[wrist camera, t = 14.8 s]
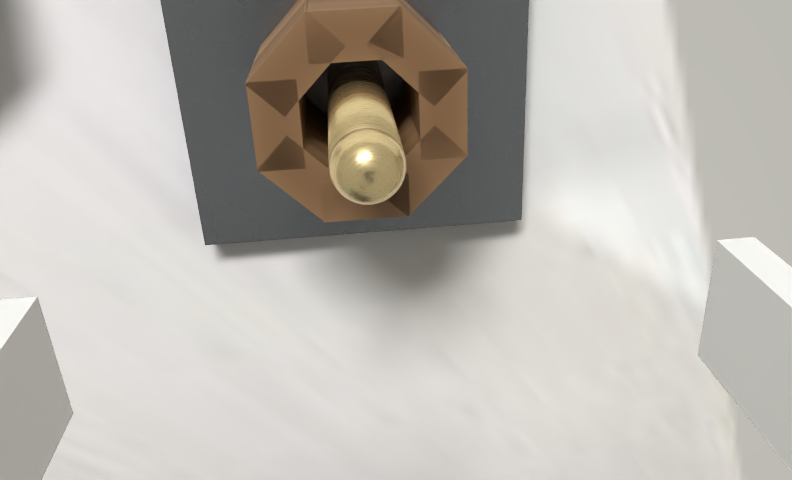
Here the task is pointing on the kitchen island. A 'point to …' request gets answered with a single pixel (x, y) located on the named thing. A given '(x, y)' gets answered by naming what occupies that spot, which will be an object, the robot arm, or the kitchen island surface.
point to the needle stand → (346, 121)
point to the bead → (308, 126)
